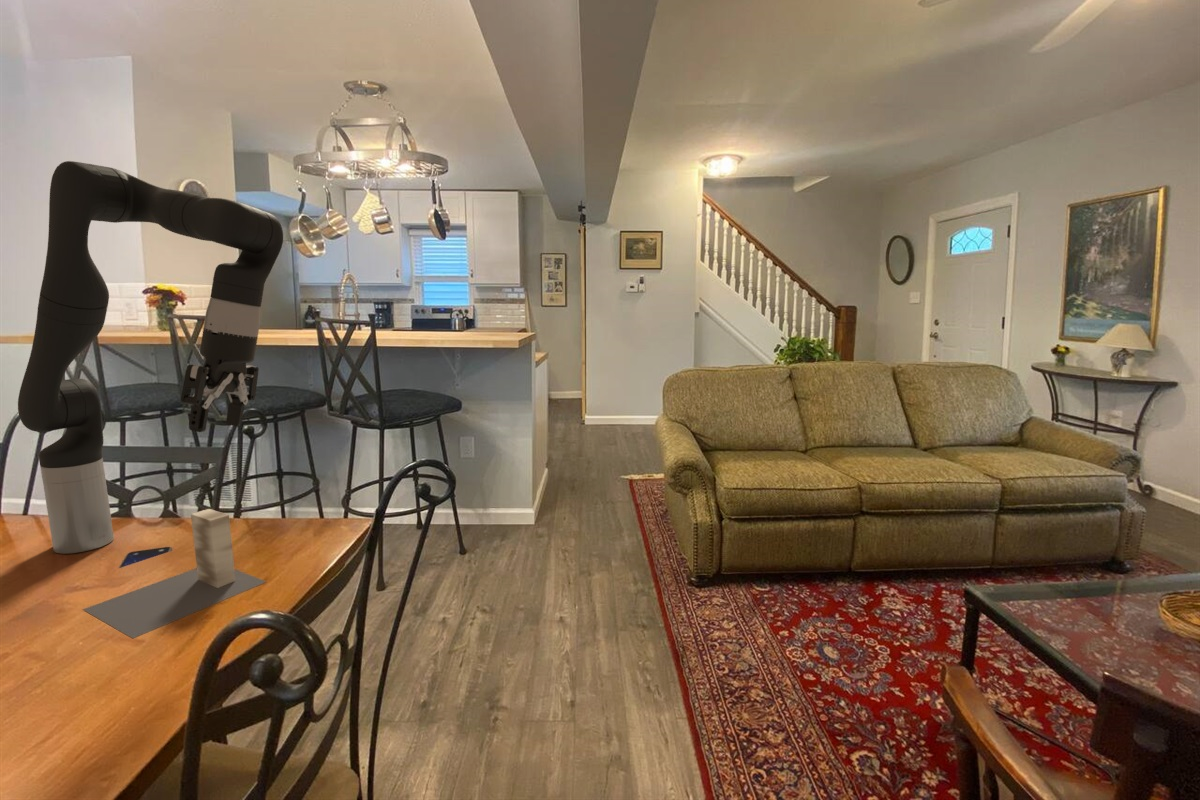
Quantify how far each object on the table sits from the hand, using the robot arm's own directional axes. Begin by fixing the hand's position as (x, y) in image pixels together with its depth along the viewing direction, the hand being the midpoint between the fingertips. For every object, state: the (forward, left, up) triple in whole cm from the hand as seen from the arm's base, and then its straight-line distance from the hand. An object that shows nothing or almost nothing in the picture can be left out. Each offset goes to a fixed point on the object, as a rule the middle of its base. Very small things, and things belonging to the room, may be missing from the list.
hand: (215, 428), depth 97 cm
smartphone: (-23, -3, -29) cm, 37 cm away
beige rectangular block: (-4, 0, -27) cm, 28 cm away
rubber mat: (-4, -6, -28) cm, 29 cm away
